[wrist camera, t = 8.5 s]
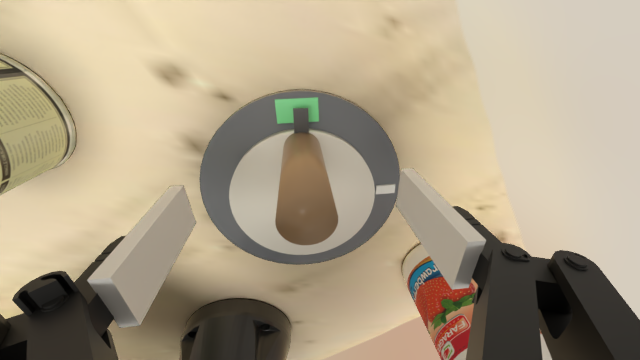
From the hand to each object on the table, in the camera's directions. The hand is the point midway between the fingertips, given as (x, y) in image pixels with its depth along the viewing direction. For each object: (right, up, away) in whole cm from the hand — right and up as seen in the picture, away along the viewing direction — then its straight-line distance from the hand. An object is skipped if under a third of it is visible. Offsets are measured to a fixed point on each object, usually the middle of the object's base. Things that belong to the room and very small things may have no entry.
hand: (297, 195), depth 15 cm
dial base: (0, 0, +11) cm, 11 cm away
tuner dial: (0, 0, +9) cm, 9 cm away
